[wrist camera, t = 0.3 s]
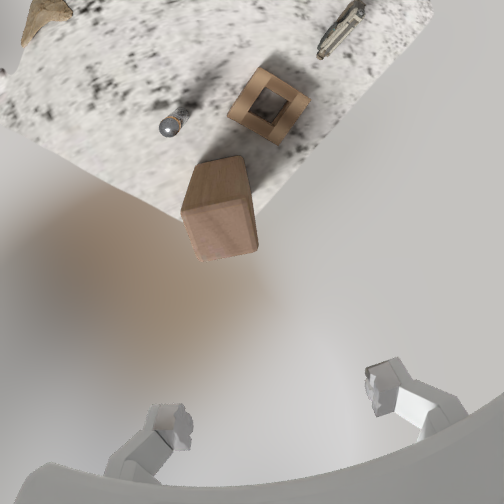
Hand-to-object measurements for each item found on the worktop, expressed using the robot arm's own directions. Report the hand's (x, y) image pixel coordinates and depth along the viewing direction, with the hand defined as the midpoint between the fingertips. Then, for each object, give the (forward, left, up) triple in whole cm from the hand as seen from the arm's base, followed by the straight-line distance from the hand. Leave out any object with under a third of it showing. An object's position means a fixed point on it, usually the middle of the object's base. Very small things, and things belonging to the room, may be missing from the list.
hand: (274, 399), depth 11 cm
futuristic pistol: (-28, +4, -50) cm, 57 cm away
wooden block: (+11, +3, -50) cm, 51 cm away
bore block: (-7, +2, -50) cm, 50 cm away
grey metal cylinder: (+3, -11, -50) cm, 51 cm away
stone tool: (-9, -54, -50) cm, 74 cm away
